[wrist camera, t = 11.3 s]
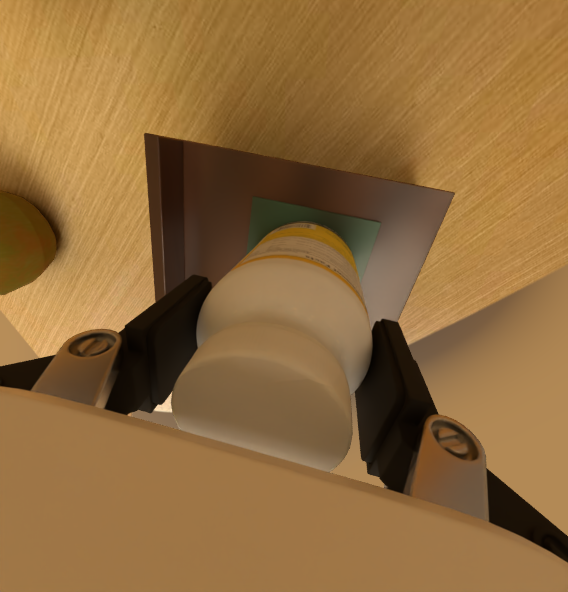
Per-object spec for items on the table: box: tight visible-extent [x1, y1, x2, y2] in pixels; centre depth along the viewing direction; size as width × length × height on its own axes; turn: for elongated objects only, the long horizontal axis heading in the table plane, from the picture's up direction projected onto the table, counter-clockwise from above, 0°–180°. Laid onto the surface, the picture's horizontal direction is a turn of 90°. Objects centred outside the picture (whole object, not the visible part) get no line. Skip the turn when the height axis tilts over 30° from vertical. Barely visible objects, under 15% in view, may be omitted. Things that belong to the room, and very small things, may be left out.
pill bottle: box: [171, 221, 373, 472], centre depth 12 cm, size 6×6×12 cm
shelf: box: [144, 133, 455, 331], centre depth 19 cm, size 16×12×10 cm
